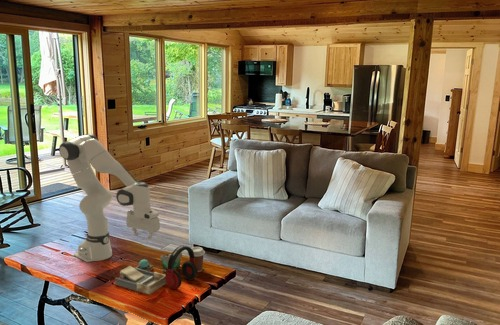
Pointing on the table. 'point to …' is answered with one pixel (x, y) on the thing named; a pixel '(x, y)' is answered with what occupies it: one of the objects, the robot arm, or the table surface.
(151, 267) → the brown square wooden tray
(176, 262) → the food container
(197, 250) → the coffee cup
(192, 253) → the headphones
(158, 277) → the tray
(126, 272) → the ramp
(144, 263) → the ball
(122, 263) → the table surface
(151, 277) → the grey railed platform
